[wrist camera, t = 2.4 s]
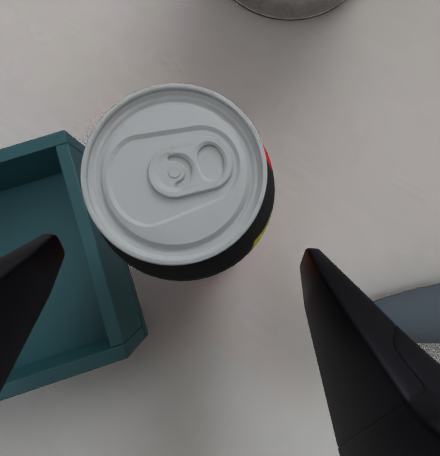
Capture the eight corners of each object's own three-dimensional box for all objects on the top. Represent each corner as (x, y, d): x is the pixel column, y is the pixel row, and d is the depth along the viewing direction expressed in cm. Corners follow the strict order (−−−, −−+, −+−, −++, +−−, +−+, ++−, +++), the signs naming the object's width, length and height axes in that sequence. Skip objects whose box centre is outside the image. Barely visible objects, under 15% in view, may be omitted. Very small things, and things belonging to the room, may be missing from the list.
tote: (148, 334, 18) (128, 358, 14) (-29, 393, 18) (-102, 435, 14) (96, 155, 19) (64, 129, 15) (-72, 206, 19) (-151, 194, 15)
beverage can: (148, 192, 19) (35, 94, 7) (231, 169, 19) (252, 39, 8) (170, 276, 19) (87, 318, 7) (255, 251, 19) (319, 250, 7)
